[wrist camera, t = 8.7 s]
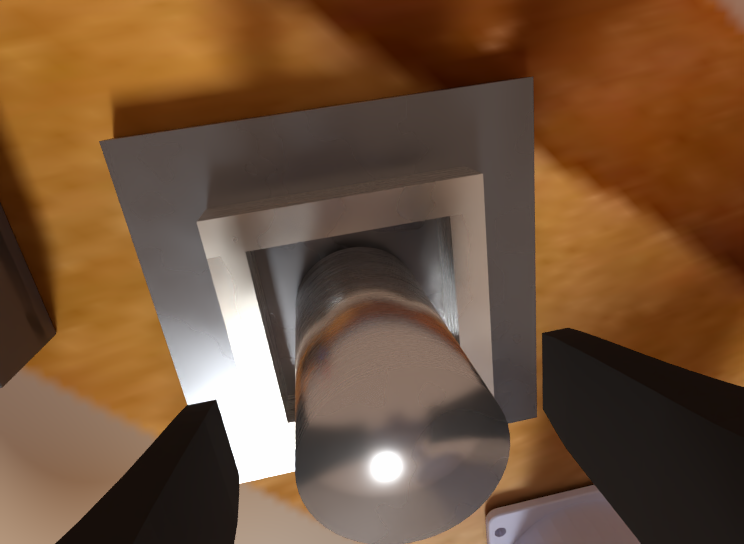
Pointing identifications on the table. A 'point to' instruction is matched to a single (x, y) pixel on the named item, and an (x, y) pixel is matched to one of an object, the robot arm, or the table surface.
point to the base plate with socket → (334, 239)
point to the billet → (387, 406)
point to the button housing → (18, 308)
